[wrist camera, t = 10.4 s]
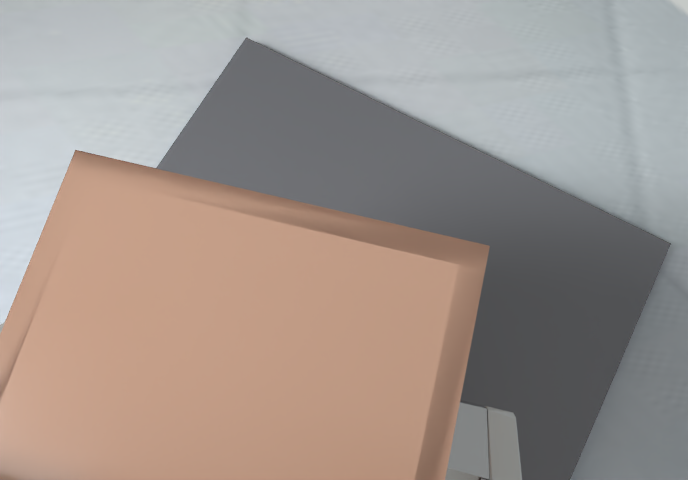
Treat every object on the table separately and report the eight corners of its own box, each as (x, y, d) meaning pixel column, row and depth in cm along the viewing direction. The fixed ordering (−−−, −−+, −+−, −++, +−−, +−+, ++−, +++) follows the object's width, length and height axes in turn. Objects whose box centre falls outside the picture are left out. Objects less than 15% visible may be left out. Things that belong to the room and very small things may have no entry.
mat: (-113, 571, 16) (-308, 645, 11) (248, 44, 20) (215, -60, 16) (369, 931, 14) (374, 1214, 9) (664, 246, 18) (771, 195, 13)
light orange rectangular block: (145, 491, 14) (-113, 610, 6) (216, 268, 16) (75, 149, 8) (373, 558, 14) (388, 774, 6) (425, 320, 15) (490, 245, 7)
